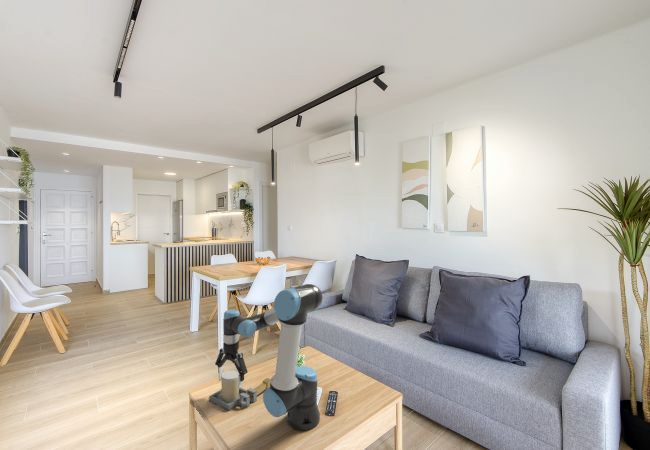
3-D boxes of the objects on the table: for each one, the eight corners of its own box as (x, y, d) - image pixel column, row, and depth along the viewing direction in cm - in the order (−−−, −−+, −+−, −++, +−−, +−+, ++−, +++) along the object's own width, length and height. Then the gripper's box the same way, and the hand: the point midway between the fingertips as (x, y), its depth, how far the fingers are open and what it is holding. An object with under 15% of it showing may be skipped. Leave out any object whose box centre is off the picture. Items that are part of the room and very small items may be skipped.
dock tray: (258, 399, 155) (258, 389, 155) (237, 415, 143) (237, 404, 142) (230, 388, 164) (230, 378, 164) (209, 401, 152) (209, 391, 152)
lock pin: (266, 384, 167) (267, 377, 167) (272, 386, 165) (272, 379, 165) (247, 397, 154) (247, 390, 154) (253, 400, 152) (253, 393, 152)
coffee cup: (242, 393, 159) (243, 370, 158) (235, 404, 149) (236, 380, 149) (225, 391, 160) (225, 369, 159) (217, 402, 150) (217, 378, 150)
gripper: (255, 344, 151) (254, 386, 151) (219, 334, 163) (219, 373, 164) (244, 349, 144) (243, 394, 145) (208, 338, 157) (207, 379, 157)
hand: (230, 383), depth 154 cm, fingers open, 13 cm apart
